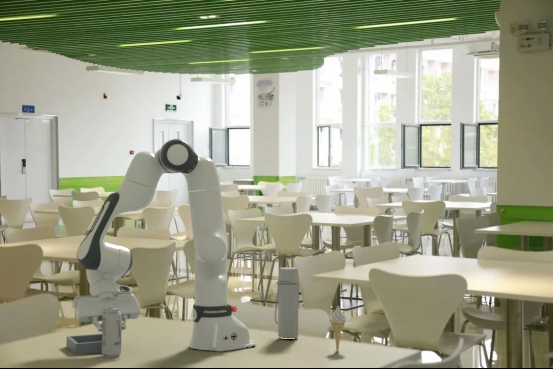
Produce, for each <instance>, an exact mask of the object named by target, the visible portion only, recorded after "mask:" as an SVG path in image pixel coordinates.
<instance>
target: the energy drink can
mask: <svg viewBox="0 0 553 369" xmlns="http://www.w3.org/2000/svg"><path fill="white" fill-rule="evenodd" d="M121 323H123V322H122V314H121V312H120V308H116V307H110V308H104V312H103V314H102V321H101V324H103V331H101V334H102V353H101V354H102V355H103V357H104V358H118V357H120V355H121V353H122V330H121Z"/></svg>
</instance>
